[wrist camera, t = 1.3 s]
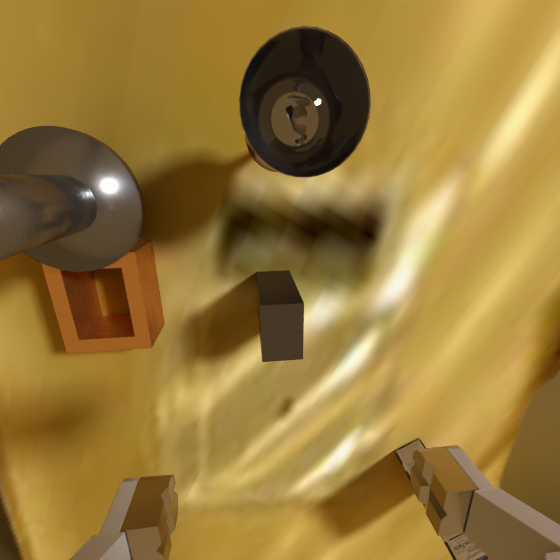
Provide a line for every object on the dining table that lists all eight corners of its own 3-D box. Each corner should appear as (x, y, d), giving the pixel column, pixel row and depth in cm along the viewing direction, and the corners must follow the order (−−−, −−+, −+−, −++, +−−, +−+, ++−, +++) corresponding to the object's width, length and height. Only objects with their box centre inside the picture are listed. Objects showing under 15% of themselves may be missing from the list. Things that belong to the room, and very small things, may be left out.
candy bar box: (443, 474, 53) (524, 599, 37) (417, 488, 53) (487, 616, 38) (419, 435, 49) (499, 555, 34) (392, 449, 49) (459, 575, 34)
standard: (26, 136, 30) (-352, 72, 11) (152, 136, 31) (8, 78, 12) (77, 329, 37) (-99, 491, 18) (178, 323, 38) (113, 470, 19)
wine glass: (331, 128, 32) (397, 93, 18) (287, 190, 34) (316, 203, 20) (271, 74, 30) (294, -12, 16) (227, 144, 32) (212, 121, 18)
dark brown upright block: (256, 271, 37) (260, 305, 27) (289, 270, 37) (303, 303, 28) (258, 316, 39) (262, 361, 29) (289, 314, 39) (302, 359, 30)
